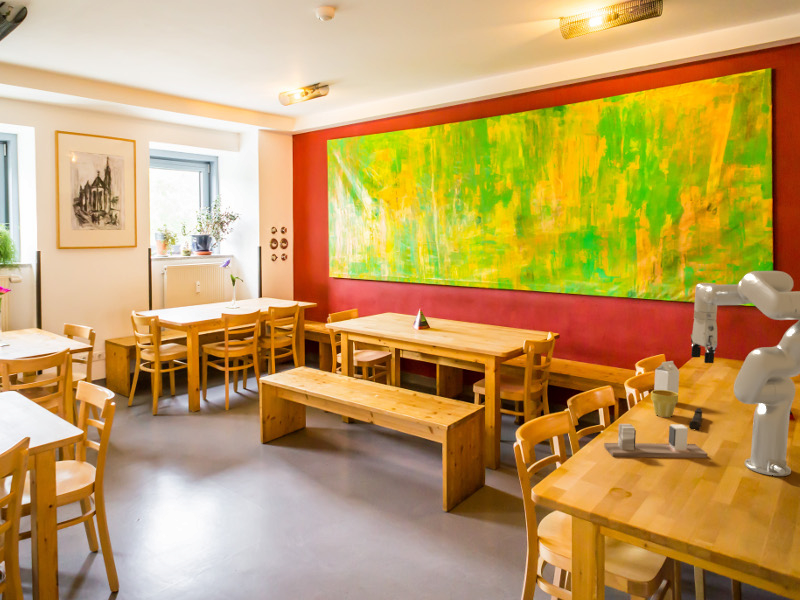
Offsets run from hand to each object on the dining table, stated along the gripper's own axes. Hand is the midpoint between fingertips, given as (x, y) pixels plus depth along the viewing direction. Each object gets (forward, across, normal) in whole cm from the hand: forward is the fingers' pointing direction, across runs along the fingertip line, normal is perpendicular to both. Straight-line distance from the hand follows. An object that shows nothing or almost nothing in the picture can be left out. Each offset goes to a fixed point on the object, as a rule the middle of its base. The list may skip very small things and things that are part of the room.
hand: (702, 360), depth 213 cm
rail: (+28, -21, +26) cm, 44 cm away
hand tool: (+29, +10, -4) cm, 31 cm away
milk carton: (+29, +39, -5) cm, 49 cm away
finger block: (+27, -22, +18) cm, 39 cm away
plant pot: (+29, +20, +4) cm, 36 cm away
